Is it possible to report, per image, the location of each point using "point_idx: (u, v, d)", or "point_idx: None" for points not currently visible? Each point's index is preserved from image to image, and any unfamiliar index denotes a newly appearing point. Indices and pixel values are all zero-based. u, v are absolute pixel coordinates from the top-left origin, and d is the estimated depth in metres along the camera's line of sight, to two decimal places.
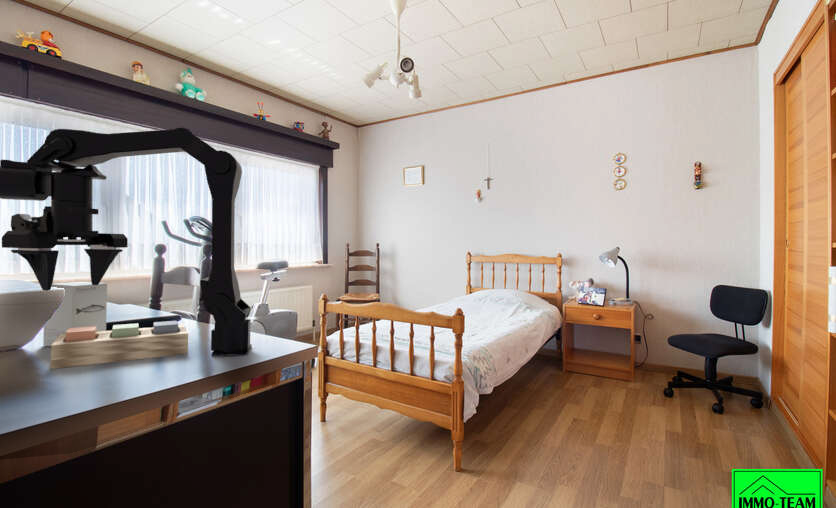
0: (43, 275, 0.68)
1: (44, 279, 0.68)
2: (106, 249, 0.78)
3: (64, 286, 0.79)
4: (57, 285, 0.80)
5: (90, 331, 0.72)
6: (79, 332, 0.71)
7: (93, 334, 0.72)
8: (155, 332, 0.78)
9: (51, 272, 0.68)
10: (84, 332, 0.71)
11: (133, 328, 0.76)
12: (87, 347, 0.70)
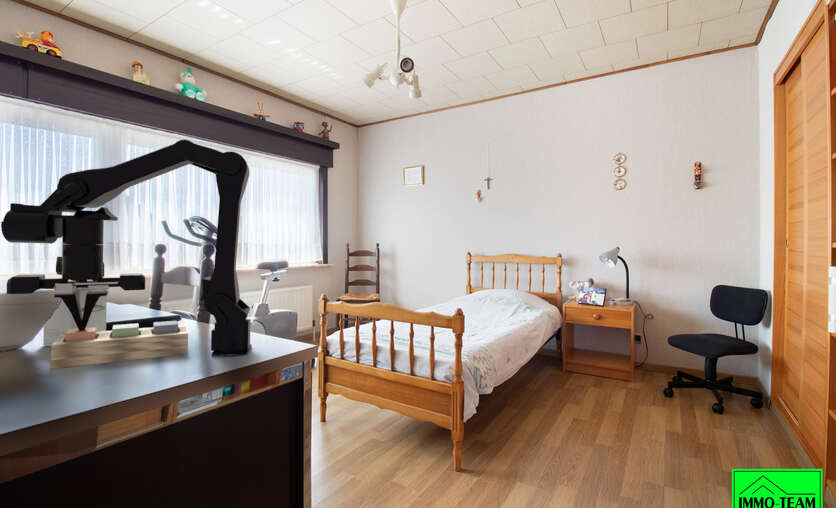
0: None
1: None
2: (88, 293, 0.72)
3: None
4: None
5: (90, 332, 0.72)
6: (79, 333, 0.71)
7: (93, 335, 0.72)
8: (155, 332, 0.78)
9: (75, 314, 0.71)
10: (84, 333, 0.71)
11: (133, 328, 0.76)
12: (87, 347, 0.70)
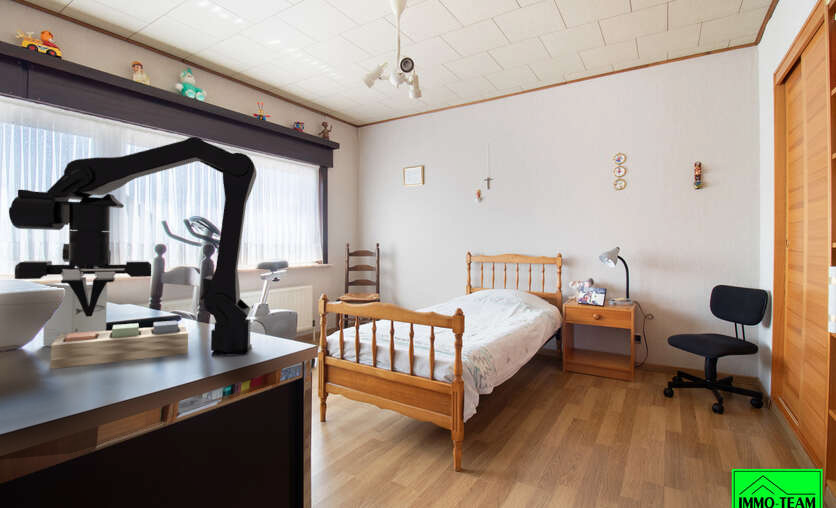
0: None
1: (82, 306, 0.72)
2: (95, 279, 0.72)
3: (64, 286, 0.79)
4: (57, 285, 0.80)
5: (90, 336, 0.72)
6: (79, 337, 0.71)
7: None
8: (155, 332, 0.78)
9: (82, 300, 0.71)
10: (84, 337, 0.71)
11: (133, 328, 0.76)
12: (87, 347, 0.70)
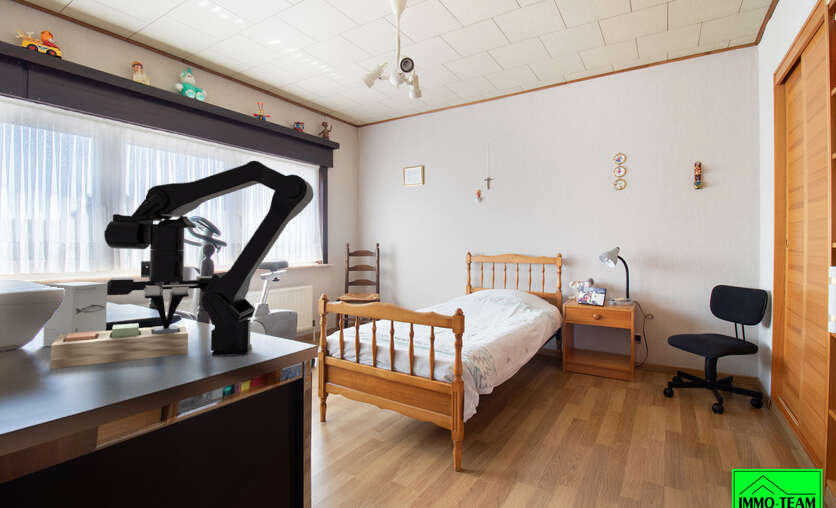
0: (159, 315, 0.79)
1: None
2: (172, 294, 0.79)
3: (64, 286, 0.79)
4: (57, 285, 0.80)
5: (90, 336, 0.72)
6: (79, 337, 0.71)
7: None
8: None
9: (162, 313, 0.78)
10: (84, 337, 0.71)
11: (133, 328, 0.76)
12: (87, 347, 0.70)
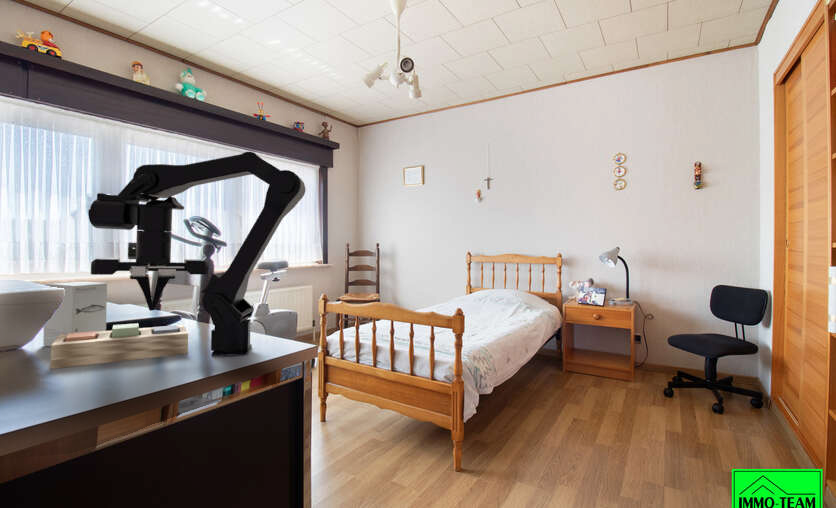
0: (145, 297, 0.78)
1: (146, 300, 0.78)
2: (159, 275, 0.78)
3: (64, 286, 0.79)
4: (57, 285, 0.80)
5: (90, 336, 0.72)
6: (79, 337, 0.71)
7: None
8: None
9: (147, 295, 0.77)
10: (84, 337, 0.71)
11: (133, 328, 0.76)
12: (87, 347, 0.70)
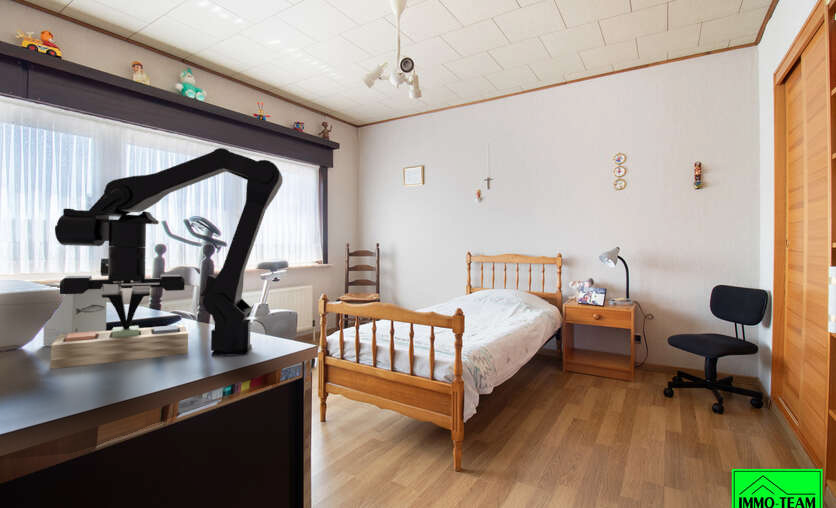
0: (118, 315, 0.75)
1: (120, 319, 0.75)
2: (132, 293, 0.75)
3: None
4: (57, 285, 0.80)
5: (90, 336, 0.72)
6: (79, 337, 0.71)
7: None
8: None
9: (120, 313, 0.75)
10: (84, 337, 0.71)
11: (133, 330, 0.76)
12: (87, 347, 0.70)
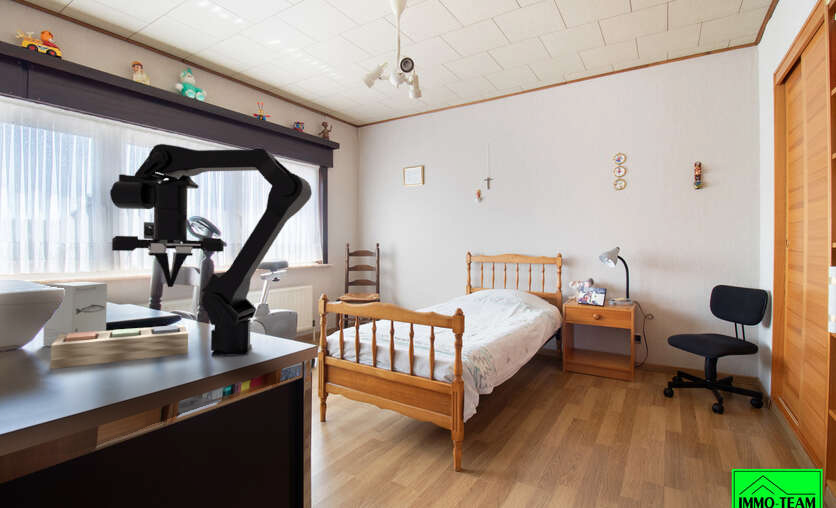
0: (163, 274, 0.80)
1: None
2: (176, 252, 0.80)
3: (64, 286, 0.79)
4: (57, 285, 0.80)
5: (90, 336, 0.72)
6: (79, 337, 0.71)
7: None
8: None
9: (166, 271, 0.79)
10: (84, 337, 0.71)
11: (133, 333, 0.76)
12: (87, 347, 0.70)
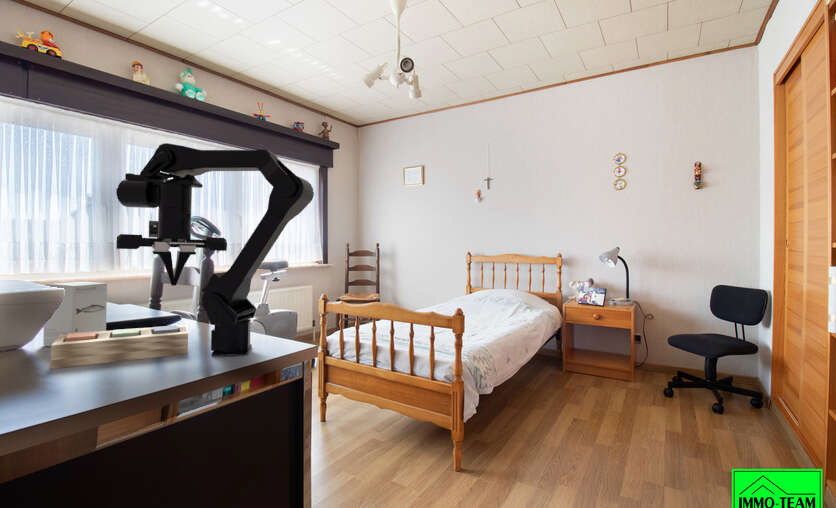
0: (167, 272, 0.80)
1: (168, 276, 0.80)
2: (180, 251, 0.80)
3: (64, 286, 0.79)
4: (57, 285, 0.80)
5: (90, 336, 0.72)
6: (79, 337, 0.71)
7: None
8: None
9: (169, 270, 0.80)
10: (84, 337, 0.71)
11: (133, 333, 0.76)
12: (87, 347, 0.70)
